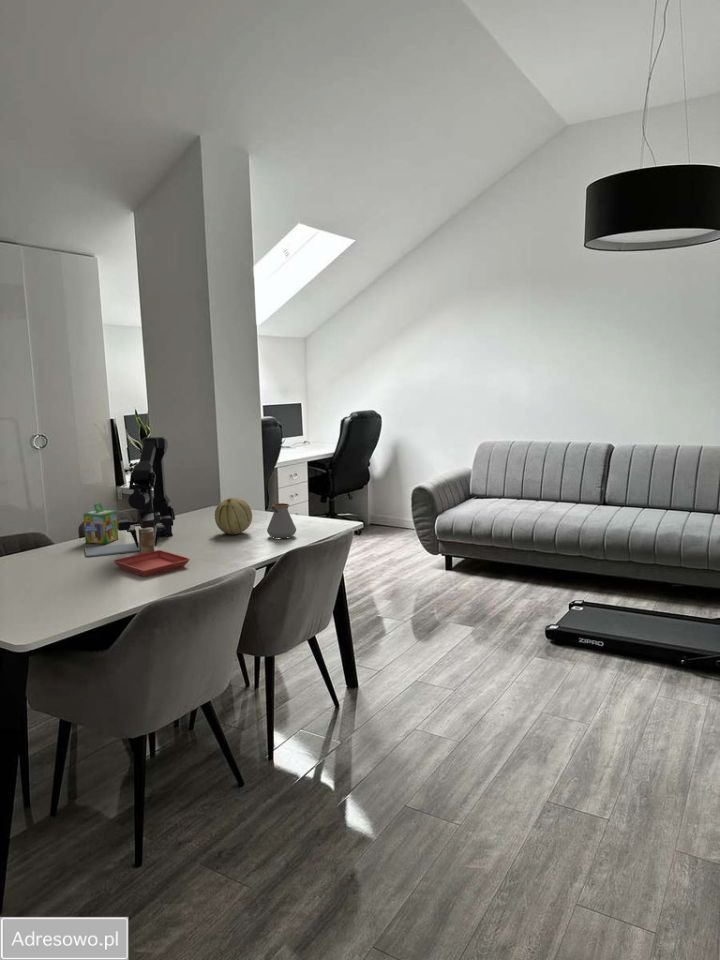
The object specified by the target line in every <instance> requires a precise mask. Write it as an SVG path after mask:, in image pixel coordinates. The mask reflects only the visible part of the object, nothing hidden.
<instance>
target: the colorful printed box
mask: <svg viewBox="0 0 720 960" xmlns="http://www.w3.org/2000/svg"><path fill="white" fill-rule="evenodd" d="M102 505H103V504H102V503H101V502H98V503H95V504H94V505H93V507H94V510H91V511H88V512H86V513H83V523H84V524H83V525H84V527H83V528H84V537H85V544H86V543H95V544H97V545H98V544H100V545H102V544H104V545H107V544H110V543H112V542H115V541H117V540H119V530H118V528H117V521H118V514H117V513H118V512H117V510H108V509H103V506H102ZM98 507H99V508H100V509H98Z"/></svg>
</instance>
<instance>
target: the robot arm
mask: <svg viewBox="0 0 720 960" xmlns="http://www.w3.org/2000/svg"><path fill="white" fill-rule="evenodd" d="M168 442H169V441H168V439H166V438H165V437H164V436H148V437H147V436H145V437H143V438H142V450H141V454H140V457H139V461H138V463H137V464H136V465H134V466H133V469H132V471H131V472H130V476H129V477H130V478H129V483H128V484H129V487H128V489H129V490H133V492H132V493H131V494H130V495H129V497H128V500H127V501H128V505H129V506H130V507H131V508H133V510H135V513H136V516H135V517H136V521H135V520H133V521H130V519H129V518H128V519H117V528H118V532H119V531H120V532H121V531H126V532H127V533H130V534H131V537H132V538H133V541H134V543H135V544H136V546H137V548H138V543H139V539H138V536H137V529H136V527H141V528H143V529H144V528H149V527H151V529H152V530H153V538H154V547H156V546H157V544H158V542H159V538H162V537H163V536H164V537H173V535H174V534H173V529H172V528H173V526H174V520H176V514H175V509H174V508H173V505H172V501H171V499H170V498H169V497H168V494H167V493H166V482H165V481H166V479H165V467H164V457H165V456H166V454H167V449H168V446H169V443H168ZM164 537H163V538H164Z"/></svg>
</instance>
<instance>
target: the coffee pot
mask: <svg viewBox="0 0 720 960" xmlns="http://www.w3.org/2000/svg"><path fill="white" fill-rule="evenodd" d="M289 507H290V504H289V503H281V502H280V503H274V504H271V507H270V508H268V511H269V512H270V513H273V514H272V516H271V519H270V522H269V523H268V526H267V529H266V532H267V534H268V535H269V537H271V538H272V537H274V538H287V537H291V536H292V537H293V536H294V535H296V532H297V527H296V525H295V523H294V521H293V519H292V517H291V514H290V511H289ZM271 509H272V511H271ZM292 537H291V538H292ZM274 538H273V539H274Z"/></svg>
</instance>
